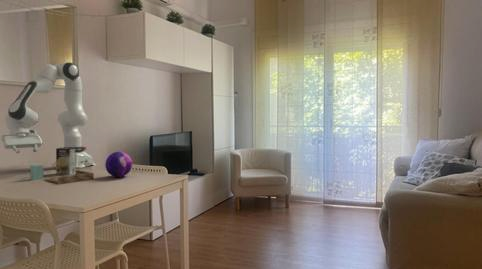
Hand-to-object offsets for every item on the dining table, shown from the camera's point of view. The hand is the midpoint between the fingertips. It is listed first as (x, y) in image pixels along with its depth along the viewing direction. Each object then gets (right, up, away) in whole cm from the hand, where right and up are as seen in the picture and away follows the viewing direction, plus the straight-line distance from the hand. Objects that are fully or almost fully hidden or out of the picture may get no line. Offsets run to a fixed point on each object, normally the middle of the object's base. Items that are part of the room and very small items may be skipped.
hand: (26, 152), depth 213 cm
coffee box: (+18, -14, +11) cm, 25 cm away
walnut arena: (+29, -15, -8) cm, 33 cm away
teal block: (+10, -15, -7) cm, 19 cm away
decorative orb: (+54, -15, +2) cm, 56 cm away
